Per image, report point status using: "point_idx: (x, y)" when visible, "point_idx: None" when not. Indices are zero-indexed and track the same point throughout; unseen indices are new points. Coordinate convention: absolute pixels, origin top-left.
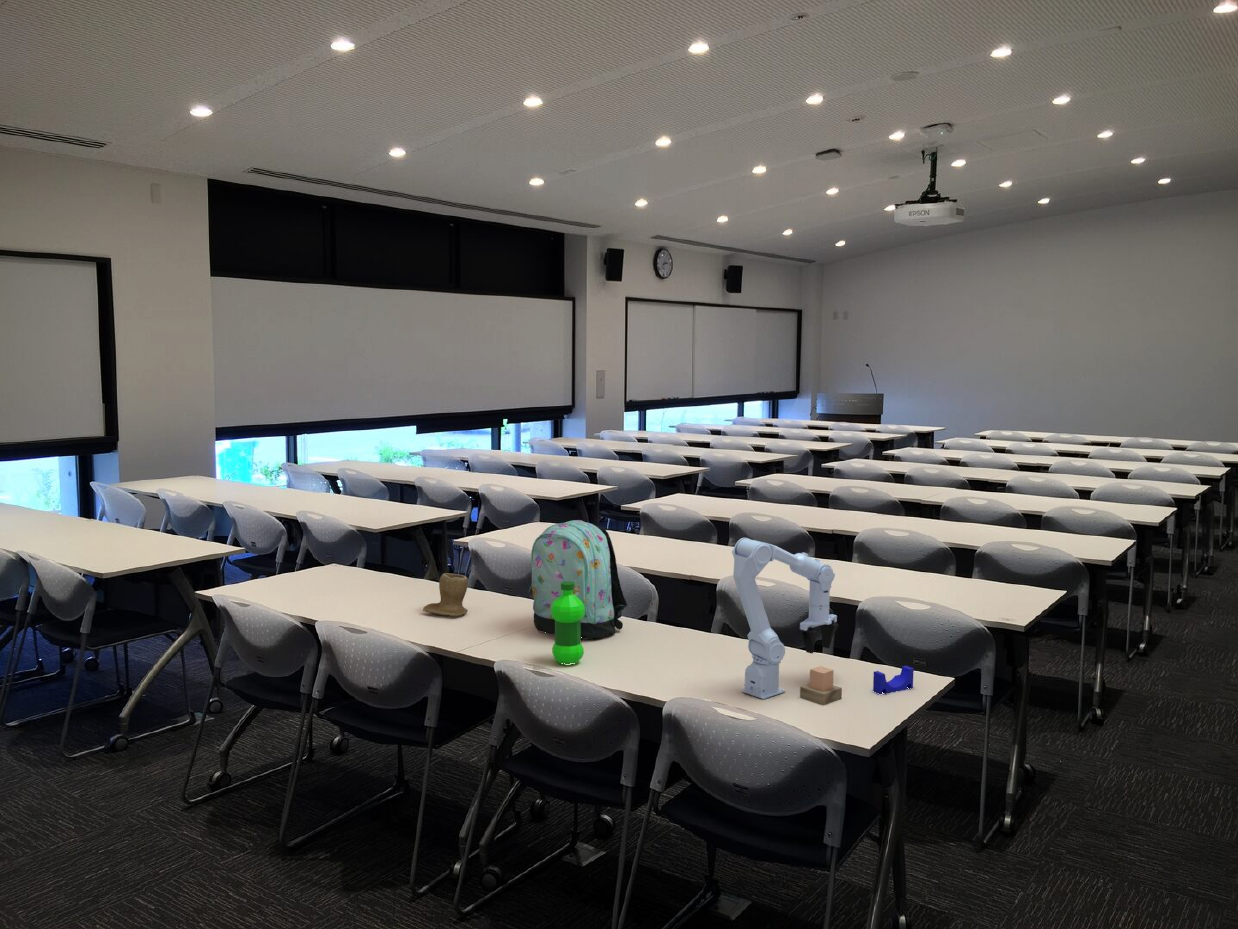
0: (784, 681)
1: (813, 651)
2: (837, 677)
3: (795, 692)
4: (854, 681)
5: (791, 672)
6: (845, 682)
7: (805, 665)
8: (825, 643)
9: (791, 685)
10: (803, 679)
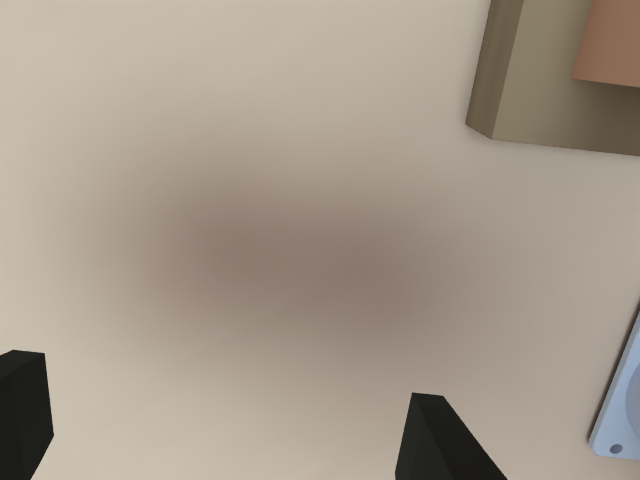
0: None
1: (419, 407)
2: (69, 178)
3: (603, 233)
4: (28, 15)
5: (242, 446)
6: (115, 63)
7: (56, 451)
8: (7, 446)
9: (476, 327)
10: (305, 331)
